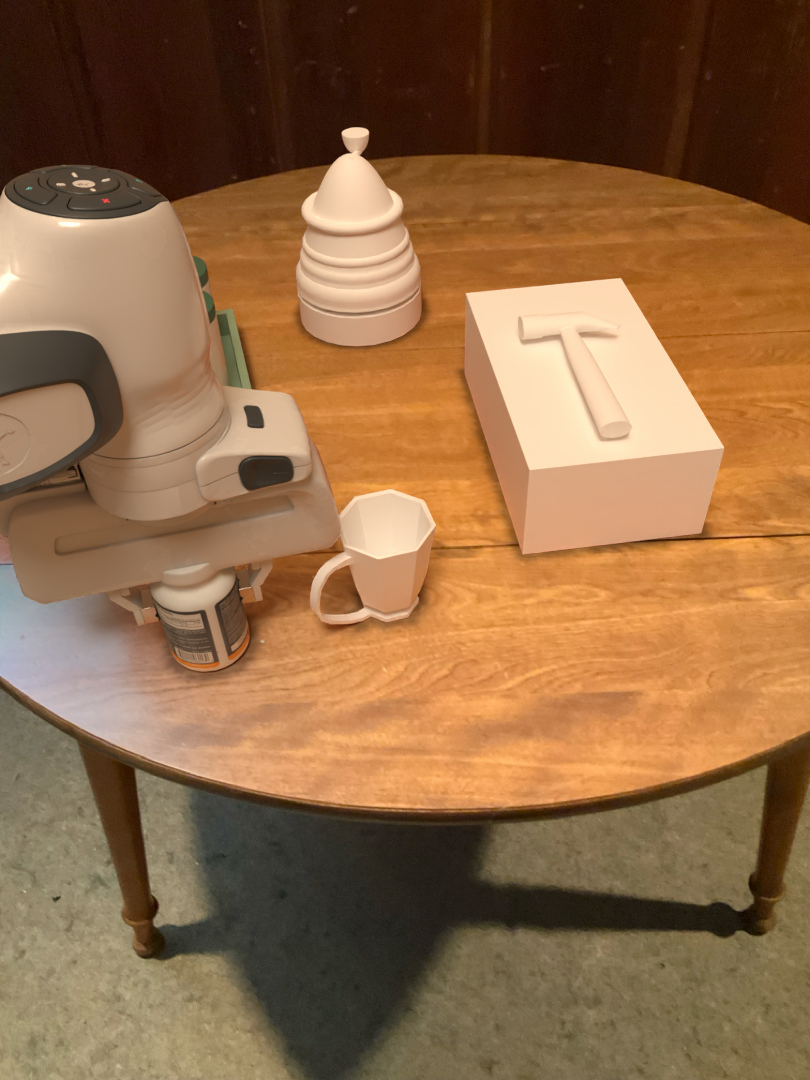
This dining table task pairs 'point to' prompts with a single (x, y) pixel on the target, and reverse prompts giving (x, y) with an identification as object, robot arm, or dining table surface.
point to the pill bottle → (202, 616)
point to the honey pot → (357, 256)
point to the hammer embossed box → (586, 417)
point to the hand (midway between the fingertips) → (201, 606)
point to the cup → (381, 555)
